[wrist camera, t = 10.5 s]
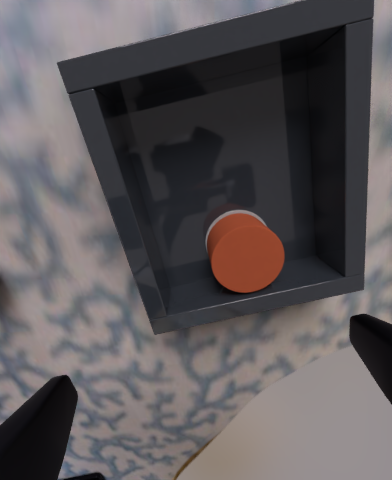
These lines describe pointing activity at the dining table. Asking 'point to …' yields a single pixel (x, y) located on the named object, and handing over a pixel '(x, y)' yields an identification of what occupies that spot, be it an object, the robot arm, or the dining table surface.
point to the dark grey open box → (235, 152)
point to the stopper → (244, 253)
